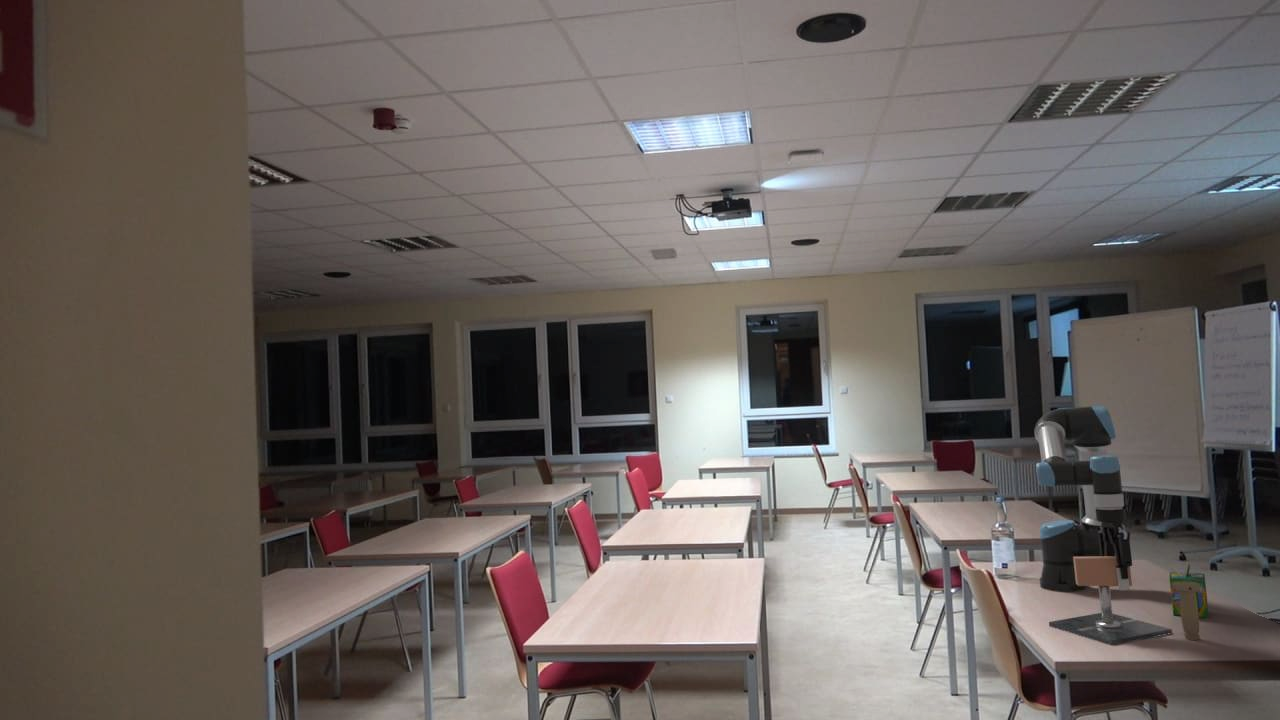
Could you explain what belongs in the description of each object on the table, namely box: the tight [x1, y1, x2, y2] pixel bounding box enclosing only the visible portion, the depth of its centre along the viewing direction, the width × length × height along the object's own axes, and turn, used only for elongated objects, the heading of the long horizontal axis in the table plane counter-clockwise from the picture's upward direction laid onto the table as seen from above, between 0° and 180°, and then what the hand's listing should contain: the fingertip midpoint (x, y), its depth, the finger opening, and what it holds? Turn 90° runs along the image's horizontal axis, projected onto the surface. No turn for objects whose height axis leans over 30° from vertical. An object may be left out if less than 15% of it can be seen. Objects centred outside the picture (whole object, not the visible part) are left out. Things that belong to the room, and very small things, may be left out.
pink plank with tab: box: [1073, 555, 1133, 587], centre depth 229 cm, size 3×14×9 cm, turn 71°
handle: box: [1172, 582, 1200, 641], centre depth 215 cm, size 5×6×15 cm
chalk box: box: [1168, 563, 1210, 618], centre depth 238 cm, size 9×9×15 cm
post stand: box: [1048, 586, 1173, 646], centre depth 228 cm, size 22×22×13 cm
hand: (1119, 587), depth 228 cm, fingers open, 5 cm apart
